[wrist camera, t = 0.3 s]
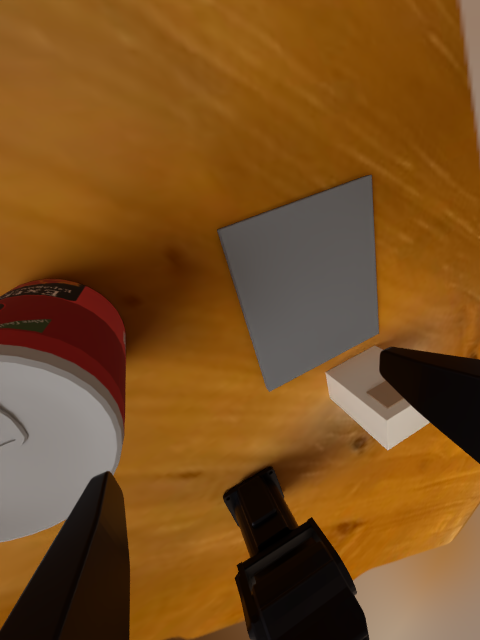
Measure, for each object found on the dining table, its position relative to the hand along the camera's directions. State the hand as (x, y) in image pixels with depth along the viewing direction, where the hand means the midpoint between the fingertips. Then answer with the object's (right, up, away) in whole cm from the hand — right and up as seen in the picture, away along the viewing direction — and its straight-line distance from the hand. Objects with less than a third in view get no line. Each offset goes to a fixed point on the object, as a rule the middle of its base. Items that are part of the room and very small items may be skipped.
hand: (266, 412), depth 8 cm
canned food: (-13, +2, +10) cm, 17 cm away
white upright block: (+12, -3, +23) cm, 26 cm away
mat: (+6, +6, +17) cm, 18 cm away
